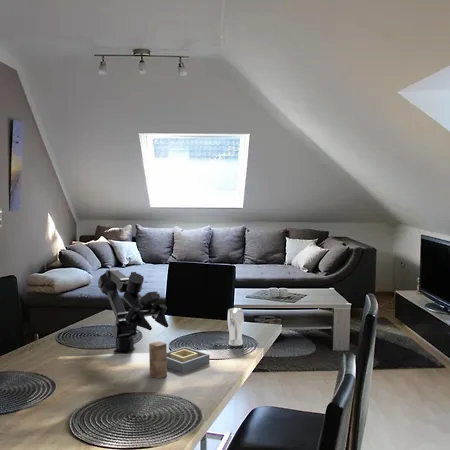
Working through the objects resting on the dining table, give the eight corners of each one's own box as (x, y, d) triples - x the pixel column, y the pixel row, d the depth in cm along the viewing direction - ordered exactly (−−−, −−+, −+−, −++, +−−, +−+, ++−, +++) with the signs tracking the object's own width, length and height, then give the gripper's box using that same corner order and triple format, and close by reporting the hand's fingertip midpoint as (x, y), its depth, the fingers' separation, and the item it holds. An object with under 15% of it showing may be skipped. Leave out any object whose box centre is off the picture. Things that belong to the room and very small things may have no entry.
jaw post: (149, 375, 198) (149, 343, 197) (159, 372, 202) (158, 341, 200) (157, 379, 195) (156, 346, 194) (166, 375, 198) (166, 343, 197)
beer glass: (242, 347, 231) (242, 312, 230) (226, 346, 232) (226, 311, 231) (244, 342, 238) (245, 308, 236) (229, 341, 239) (229, 307, 238)
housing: (158, 363, 211) (158, 353, 211) (185, 354, 221) (185, 345, 221) (182, 372, 201) (182, 362, 201) (209, 363, 211) (209, 353, 211)
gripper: (127, 286, 204) (152, 313, 196) (161, 284, 219) (185, 309, 212) (115, 309, 208) (138, 337, 200) (149, 305, 223) (172, 331, 215)
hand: (159, 328), depth 206 cm, fingers open, 9 cm apart
